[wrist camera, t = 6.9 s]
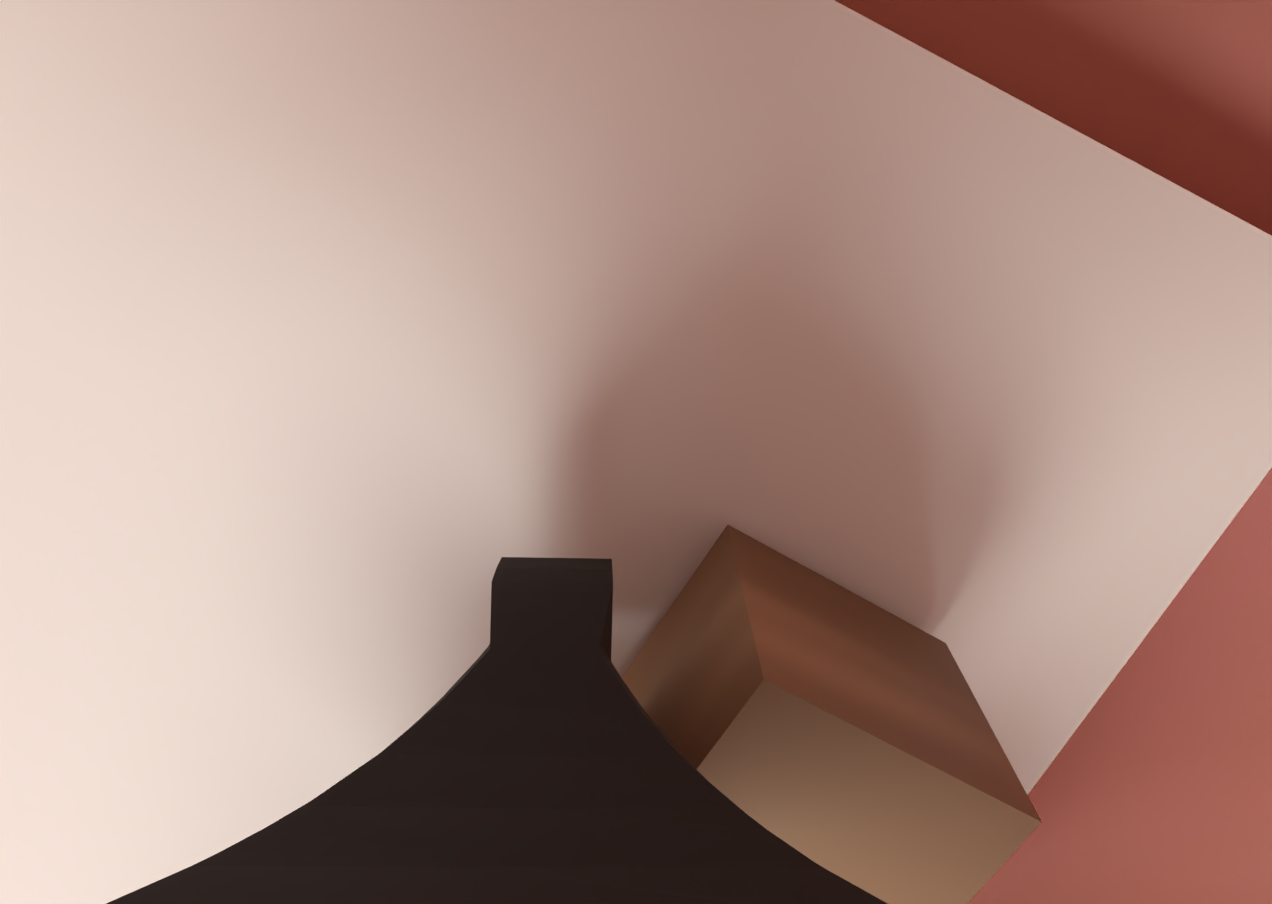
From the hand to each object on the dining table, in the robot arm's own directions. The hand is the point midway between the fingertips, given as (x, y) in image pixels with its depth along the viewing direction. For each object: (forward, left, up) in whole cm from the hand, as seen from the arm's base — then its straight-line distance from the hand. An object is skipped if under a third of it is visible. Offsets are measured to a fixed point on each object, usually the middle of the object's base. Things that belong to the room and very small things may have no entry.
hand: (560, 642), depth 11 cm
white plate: (+2, +5, -3) cm, 6 cm away
